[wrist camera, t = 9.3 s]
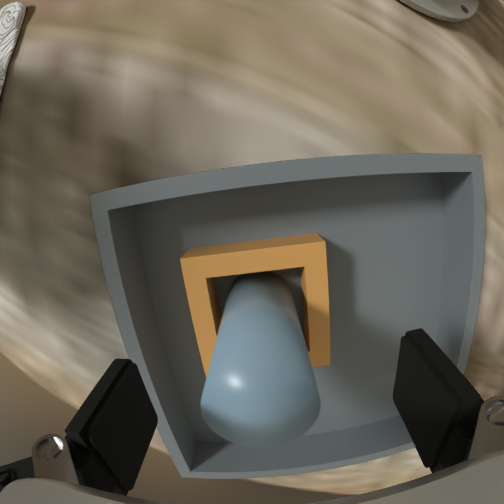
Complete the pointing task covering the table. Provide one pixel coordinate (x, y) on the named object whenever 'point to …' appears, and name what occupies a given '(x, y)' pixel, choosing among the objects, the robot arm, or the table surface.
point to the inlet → (258, 260)
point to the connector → (260, 367)
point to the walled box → (339, 287)
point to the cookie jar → (9, 34)
